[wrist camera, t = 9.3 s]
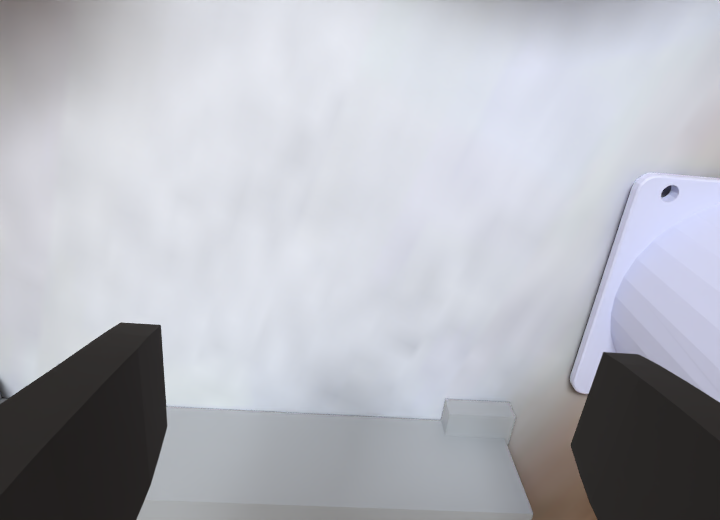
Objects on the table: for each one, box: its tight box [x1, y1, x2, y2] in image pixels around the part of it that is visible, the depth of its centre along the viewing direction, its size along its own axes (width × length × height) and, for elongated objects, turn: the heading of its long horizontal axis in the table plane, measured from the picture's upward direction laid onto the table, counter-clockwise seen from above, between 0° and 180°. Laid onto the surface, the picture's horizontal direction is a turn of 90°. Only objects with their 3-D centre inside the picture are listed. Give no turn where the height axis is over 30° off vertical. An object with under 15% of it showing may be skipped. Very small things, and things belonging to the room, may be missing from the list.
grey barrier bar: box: [0, 394, 533, 520], centre depth 18 cm, size 20×3×4 cm, turn 84°
